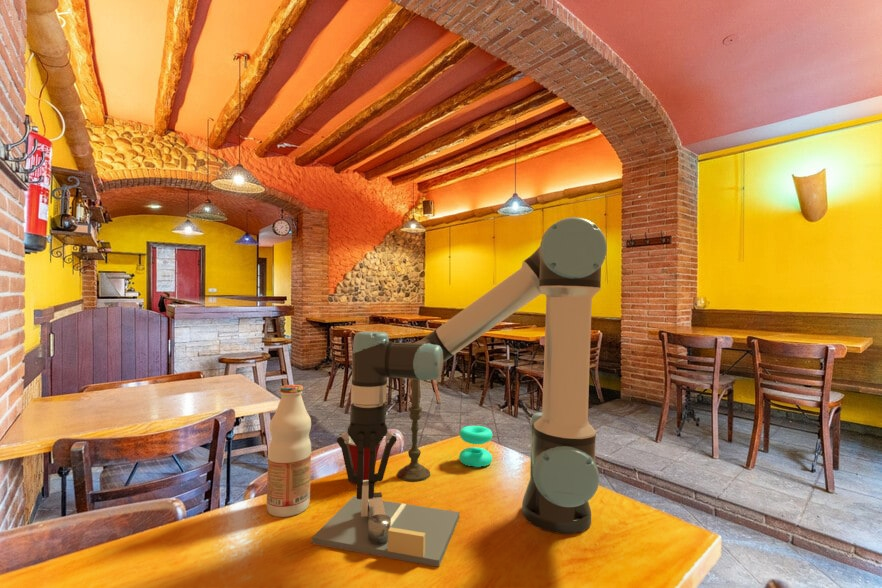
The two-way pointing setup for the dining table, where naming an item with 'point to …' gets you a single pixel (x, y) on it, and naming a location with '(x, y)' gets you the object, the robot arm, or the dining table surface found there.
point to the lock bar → (377, 520)
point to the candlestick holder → (414, 441)
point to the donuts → (475, 454)
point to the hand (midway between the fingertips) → (364, 513)
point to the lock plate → (392, 532)
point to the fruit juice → (289, 455)
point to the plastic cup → (354, 457)
